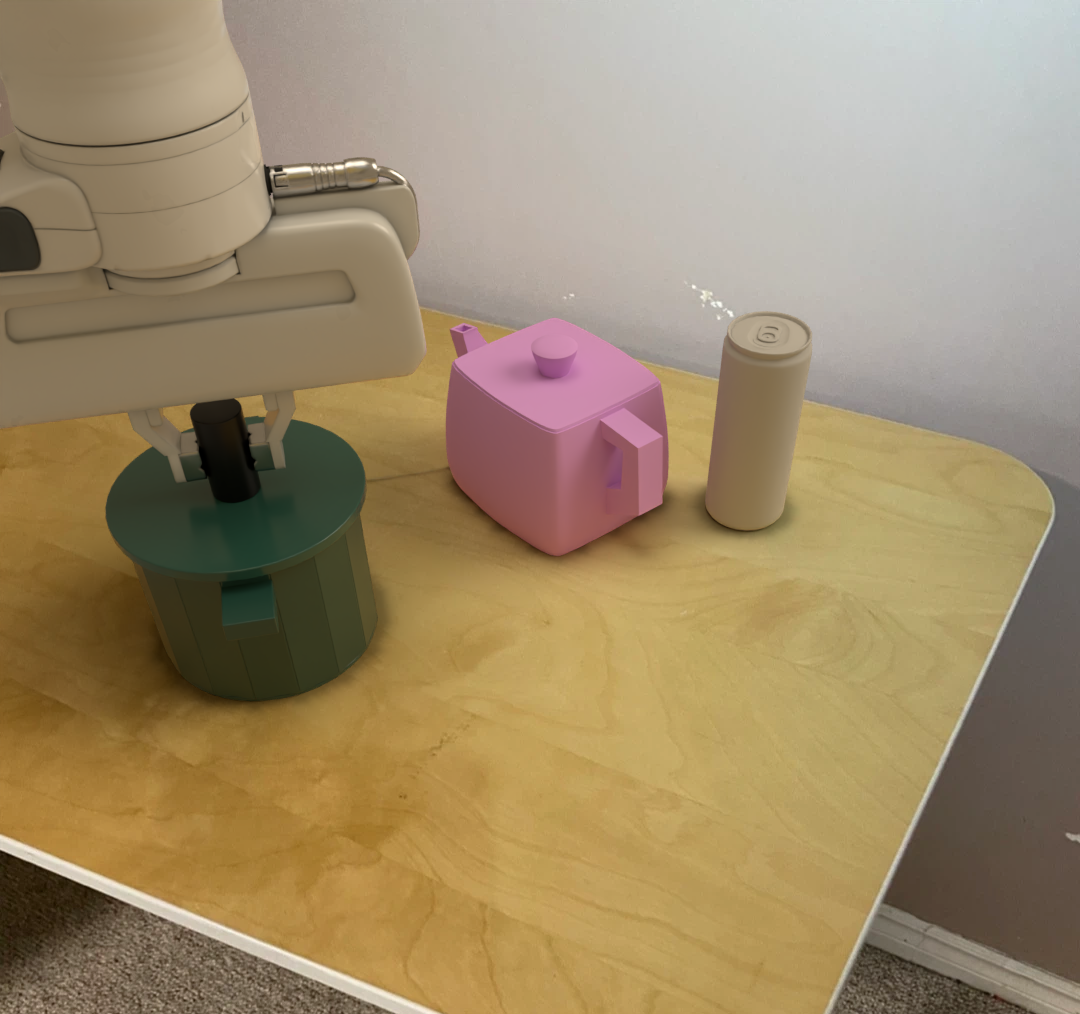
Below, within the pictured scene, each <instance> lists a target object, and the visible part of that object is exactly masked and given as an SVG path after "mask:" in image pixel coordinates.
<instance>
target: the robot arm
mask: <svg viewBox="0 0 1080 1014" xmlns="http://www.w3.org/2000/svg"><path fill="white" fill-rule="evenodd" d="M229 33H230V32H229V30H228V27H227V23H226V19H225V14H224V5H223V0H0V79H1V82H2V84H3V87H4V89H5V93H6V96H7V101H8V108H9V116H10V120H11V123H12V126H13V128H14V131H12V132H10V133H7V134H6V135H3V136H1V137H0V430H3V429H12V428H18V427H25V426H33V425H40V424H41V425H42V424H48V423H56V422H57V423H58V422H63V421H72V420H79V419H80V420H81V419H87V418H95V417H102V416H110V415H118V414H125V413H127V416H128V418H129V422H130V424H131V425H130V426H131V428H132V430H133V431H134V432H135V433H136V434H137V435H138V436H140V437H141V438H142V439H143V440H145V442H147V443H148V444H149V445H151V447H152V446H153V447H154V448H155V449H157V450H158V451H159V452H160V453H161V454H163V455H164V456H168V459H169V463H170V466H171V469H172V472H173V475H174V478H175V481H176V482H177V483H182V482H190V481H197V480H203V479H207V472H206V469H205V465H204V463H203V459H202V455H201V452H200V448H199V445H198V442H197V438H196V435H195V432H188V433H181V432H182V431H181V430H179V429H178V428H177V427H176V426H175V425H174V424H173V423H172V421H170V420H169V419H168V418H167V417H166V416H165V415H164V408H171V407H179V406H187V405H195V404H196V403H203V402H211V401H219V400H226V399H241V398H247V397H256V396H261V397H262V400H263V404H264V408H265V411H267V412H266V413H265V416H264V417H265V420H264V422H262V423H256V424H250V425H248V434H249V437H248V440H249V447H250V452H251V456H252V457H253V462H254V468H255V471H256V472H259V471H267V470H274V469H282V468H286V465H285V455H284V449H283V444H282V439H283V437H284V434H285V432H286V430H287V428H288V426H289V423H290V421H291V419H293V416H294V414H295V412H296V409H297V407H296V406H297V405H296V398H295V397H296V396H295V391H302V390H309V389H310V390H311V389H319V388H325V387H333V386H340V385H341V386H342V385H347V384H356V383H363V382H370V381H377V380H378V381H379V380H386V379H387V380H388V379H395V378H401V377H408V376H411V375H413V374H414V373H415V372H416V370H417V369H418V367H419V366H420V365H421V363H422V361H423V360H424V358H425V357H426V355H427V351H428V350H427V341H426V336H425V335H426V334H425V330H424V323H423V317H422V313H421V309H420V304H419V300H418V296H417V291H416V287H415V284H414V279H413V276H412V272H411V268H410V266H409V263H408V260H410V258H411V257H412V256H413V255H414V253H415V252H416V250H417V247H418V245H419V242H420V236H421V228H420V227H421V226H420V217H419V216H420V215H419V206H418V199H417V196H416V192H415V190H414V188H413V186H412V185H411V183H410V181H409V180H408V179H407V178H406V177H405V176H404V175H403V174H401V173H400V172H398V171H397V170H395V169H393V168H390V167H388V166H383V165H378V163H377V160H376V159H375V158H373V157H366V156H357V157H349V158H348V157H347V158H344V159H343V161H335V162H326V163H325V162H320V163H318V162H313V163H311V162H299V163H298V162H297V163H289V164H278V165H266V163H264V157H263V152H262V148H261V142H260V137H259V131H258V126H257V121H256V115H255V111H254V107H253V101H252V100H253V99H252V95H251V90H250V85H249V81H248V77H247V73H246V71H245V68H244V66H243V64H242V62H241V59H240V57H239V56H238V53H237V51H236V49H235V47H234V45H233V41H232V40H231V37H230V34H229ZM379 178H384V179H387V180H384V181H382V180H381V181H380V179H379ZM271 196H272V197H271Z"/></svg>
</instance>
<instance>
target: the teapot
mask: <svg viewBox="0 0 1080 1014" xmlns="http://www.w3.org/2000/svg"><path fill="white" fill-rule="evenodd" d="M449 333H450V336H451V340H452V343H453V346H454V350H455V353H456V356H457V358H455V359H454V360H453V361H452V362H451V368H450V374H449V381H448V389H447V397H446V407H445V450H446V460H447V464H448V467H449V470H450V472H451V473H450V474H451V475H452V477H453V480H454V482H455V483H456V484H457V486H458V487H459V488H460V490H462V491H463V493H464V494H465V495H466V496H467V497H468V498H469V499H470V500H472V501H473V502H474V503H475V504H476V505H477V506H478V507H479V508H480V509H481V510H482V511H483V512H484V513H486V515H488V516H489V517H490V518H491V519H492V520H494V521H495V522H496V523H498V524H499V525H500V526H502V528H505V529H506V530H507V531H509V532H511V533H512V534H513V535H515V536H517V538H520V539H521V540H523V541H524V542H526V543H527V544H529V545H531V546H532V547H533V548H535V549H537V550H539V551H541V552H543V553H545V554H547V555H549V556H553V557H560V556H564V555H566V554H569V553H571V552H573V551H576V550H578V549H579V548H581V547H583V546H585V545H587V544H589V543H591V542H593V541H594V540H597V539H599V538H601V537H603V536H605V535H606V534H609V533H610V532H612V531H614V530H616V529H618V528H620V527H621V526H623V525H625V524H627V523H629V522H630V521H632V520H634V519H635V518H638V517H640V516H642V515H643V514H646V513H648V512H649V511H651V510H653V509H655V508H657V507H659V506H661V505H663V495H664V493H665V489H666V487H667V484H668V479H669V468H670V466H669V465H670V464H669V463H670V462H669V461H670V459H669V457H670V456H669V455H670V451H669V449H670V448H669V447H670V446H669V431H668V423H667V414H666V407H665V401H664V394H663V388H662V383H661V380H660V379H659V377H657V375H655V374H654V373H653V372H652V371H651V370H650V369H649V368H647V367H646V366H645V365H643V364H642V363H641V362H639V361H638V360H636V359H635V358H633V357H632V356H630V355H629V354H627V353H626V352H625V351H623V350H621V349H620V348H618V347H617V346H615V345H613V344H612V343H609V342H608V341H607V340H604V339H603V338H601V337H599V336H597V335H595V334H594V333H592V332H590V331H588V330H586V329H584V328H582V327H580V326H579V325H576V324H574V323H571V322H569V321H567V320H564V319H562V318H558V317H551V318H548V319H545V320H542V321H539V322H537V323H535V324H531V325H529V326H527V327H524V328H522V329H519V330H517V331H515V332H512V333H510V334H507V335H505V336H503V337H500V338H498V339H496V340H493V341H491V342H487V341H486V339H485V338H484V336H483V335H482V334H481V333H480V331H479V327H478V326H475V325H472V324H469V323H465V322H462V323H460V324H458V325H454V326H453V327H451V328H449Z"/></svg>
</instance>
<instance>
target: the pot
mask: <svg viewBox="0 0 1080 1014" xmlns="http://www.w3.org/2000/svg"><path fill="white" fill-rule="evenodd" d="M245 417H246V416H244V418H245ZM250 417H260V416H259V415H252V416H250ZM361 517H362V516H361V513H360V514H359V515H358V517H357V519H356V521H355V522H354V523H353V524H352V526H351V527H350V528H349V529H348V531H347V532H346V533H344V534H343V535H342V536H341V537H340V538H339V539H338V540H337V541H336V542H334V543H333V544H332V545H330V546H329V547H328V548H326V549H325V550H323V551H322V552H320V553H318V554H317V555H315V556H313V557H312V558H310V559H308V560H306V561H304V562H301V563H299V564H297V565H295V566H292V567H290V568H287V569H284V570H282V571H279V572H275V573H272V574H268V575H264V576H260V577H255V578H250V579H245V580H237V581H227V582H198V581H187V580H181V579H175V578H171V577H167V576H164V575H160V574H157V573H155V572H152V571H150V570H147V569H145V568H143V567H142V566H140V565H138V564H136V563H135V562H133V561H132V560H131V562H132V564H133V568H134V571H135V572H136V575H137V578H138V581H139V583H140V586H141V589H142V591H143V595H144V597H145V599H146V602H147V604H148V607H149V610H150V613H151V615H152V618H153V620H154V624H155V626H156V629H157V631H158V634H159V636H160V639H161V642H162V644H163V648H164V650H165V652H166V654H167V656H168V657H169V659H170V661H171V662H172V664H173V666H174V668H175V669H176V671H177V672H178V674H180V675H181V677H182V678H184V680H186V681H187V682H188V684H191V685H192V686H194V687H195V688H197V689H198V690H201V691H203V692H205V693H207V694H209V695H212V696H216V697H218V698H223V699H228V700H234V701H242V702H266V701H275V700H282V699H287V698H292V697H295V696H299V695H302V694H304V693H308V692H310V691H313V690H315V689H318V688H321V687H323V686H324V685H326V684H328V683H330V682H331V681H333V680H335V679H337V678H339V676H341V675H342V674H344V673H345V672H346V671H348V670H349V668H351V667H352V666H353V665H354V664H356V662H357V661H359V659H360V658H361V657H362V656H363V655H364V653H365V652H366V650H367V649H368V648H369V647H370V644H371V642H372V639H373V638H374V635H375V632H376V628H377V622H378V618H379V617H378V611H377V605H376V599H375V594H374V593H375V592H374V588H373V582H372V577H371V576H372V575H371V570H370V564H369V558H368V551H367V548H366V547H367V546H366V541H365V535H364V530H363V524H362V518H361Z"/></svg>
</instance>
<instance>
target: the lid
mask: <svg viewBox="0 0 1080 1014" xmlns="http://www.w3.org/2000/svg"><path fill="white" fill-rule="evenodd" d="M189 417H190V421H191V425H192V428H188V429H185V430H183V431H180V432H181V433H188V432H195V435H196V438H197V442H198V445H199V448H200V452H201V455H202V459H203V463H204V465H205V469H206V472H207V479H203V480H197V481H190V482H182V483H177V482H176V481H175V478H174V475H173V472H172V469H171V466H170V463H169V459H168V456H164V455H163V454H161V453H160V452H159V451H158V450H157V449H155V448H154V447H153V446H152V445H151V446H150V447H148V448H147V449H146V450H144V451H143V452H142V453H140V454H139V455H137V456H136V457H135V458H134V459H133V460H132V461H130V463H129V464H128V465H126V466H125V467H124V469H122V471H120V473H119V474H118V476H117V477H116V479H115V480H114V482H113V483H112V485H111V487H110V489H109V491H108V494H107V497H106V502H105V508H104V510H105V511H104V512H105V522H106V525H107V529H108V531H109V533H110V536H111V539H112V540H113V542H114V544H115V545H116V547H117V548H118V549H119V550H120V552H121V553H123V555H125V556H126V557H127V558H128V559H129V560H130V561H131V562H132V561H133V562H135V563H136V564H138V565H140V566H142V567H143V568H145V569H147V570H150V571H152V572H155V573H157V574H160V575H164V576H167V577H171V578H175V579H181V580H187V581H198V582H227V581H237V580H245V579H250V578H255V577H260V576H264V575H268V574H272V573H275V572H279V571H282V570H284V569H287V568H290V567H292V566H295V565H297V564H299V563H301V562H304V561H306V560H308V559H310V558H312V557H313V556H315V555H317V554H318V553H320V552H322V551H323V550H325V549H326V548H328V547H329V546H330V545H332V544H333V543H334V542H336V541H337V540H338V539H339V538H340V537H341V536H342V535H343V534H344V533H346V532H347V531H348V529H349V528H350V527H351V526H352V524H353V523H354V522H355V521H356V519H357V517H358V515H359V514H360V515H361V513H362V510H363V507H364V504H365V501H366V497H367V491H368V490H367V489H368V487H367V475H366V471H365V467H364V464H363V461H362V459H361V458H360V456H359V454H358V453H357V451H356V450H355V449H354V448H353V447H352V446H351V444H350V443H348V442H347V441H346V440H345V439H344V438H343V437H341V436H339V435H338V434H336V433H335V432H333V431H331V430H328V429H326V428H325V427H322V426H320V425H316V424H314V423H310V422H307V421H304V420H298V419H294V418H292V419H291V421H290V423H289V426H288V428H287V430H286V432H285V434H284V437H283V439H282V444H283V449H284V455H285V465H286V468H282V469H274V470H267V471H259V472H256V471H255V468H254V462H253V457H252V456H251V452H250V447H249V440H248V437H249V434H248V425H250V424H256V423H262V422H264V420H265V417H266V416H259V417H251V416H245V415H244V410H243V406H242V404H241V402H240V401H239V400H238V399H237V398H234V399H226V400H219V401H211V402H203V403H196V404H193V406H192V407H191V409H190V410H189ZM244 417H245V418H244ZM133 562H132V563H133Z"/></svg>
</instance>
